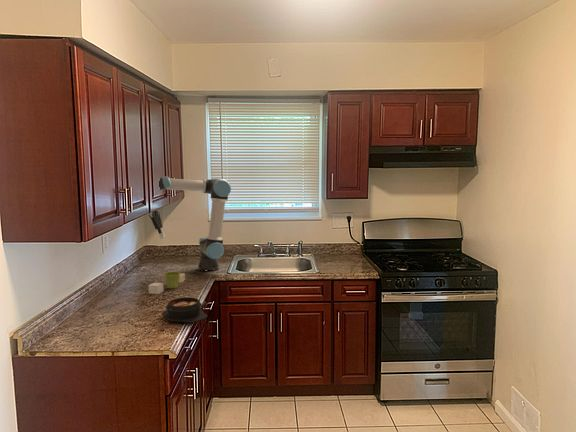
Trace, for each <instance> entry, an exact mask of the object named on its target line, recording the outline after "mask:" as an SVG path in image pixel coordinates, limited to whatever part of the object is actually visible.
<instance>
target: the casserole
mask: <svg viewBox="0 0 576 432" xmlns="http://www.w3.org/2000/svg"><path fill="white" fill-rule="evenodd" d="M202 305H203V304H202V303H201V301H200V300H199V298H196V297H189V296H188V297H179V298H173V299H171V300H169V301H168V302H167V305H166V306H165V310H164V311H162V312H161V315H162V316H163V317H164V319H166V320H167V321H169V322H170V321H171V322H175V323H189V324H190V323H197V322H200V321H203V320H205V319H207V318H208V314H206V313H205V312H204V311H203V310H202V309H201V308H202Z"/></svg>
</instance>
